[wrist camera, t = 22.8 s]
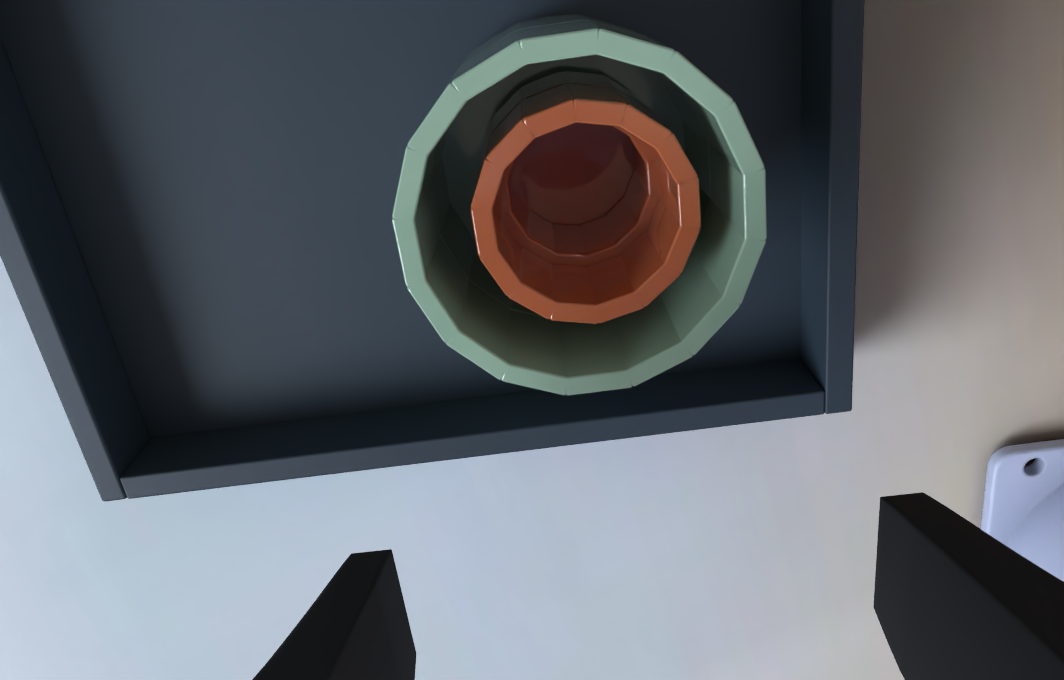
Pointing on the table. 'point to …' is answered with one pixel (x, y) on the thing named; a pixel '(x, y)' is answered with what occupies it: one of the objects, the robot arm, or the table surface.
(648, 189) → the brown cup
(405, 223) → the green cup
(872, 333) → the table surface
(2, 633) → the table surface
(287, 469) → the tray
